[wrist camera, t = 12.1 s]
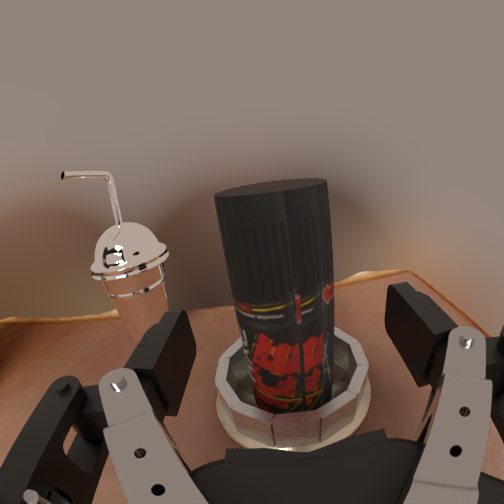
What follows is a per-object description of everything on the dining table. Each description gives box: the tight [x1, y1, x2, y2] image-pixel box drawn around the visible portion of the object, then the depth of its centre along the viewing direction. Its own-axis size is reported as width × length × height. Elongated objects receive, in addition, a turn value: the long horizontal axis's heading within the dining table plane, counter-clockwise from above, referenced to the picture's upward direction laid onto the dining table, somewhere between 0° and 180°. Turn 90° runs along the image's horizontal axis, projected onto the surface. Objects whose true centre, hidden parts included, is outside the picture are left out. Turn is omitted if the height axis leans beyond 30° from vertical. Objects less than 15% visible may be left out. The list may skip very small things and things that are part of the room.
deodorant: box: [214, 179, 334, 414], centre depth 16 cm, size 6×6×15 cm
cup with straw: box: [61, 171, 169, 345], centre depth 25 cm, size 8×9×20 cm
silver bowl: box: [214, 327, 371, 452], centre depth 19 cm, size 12×12×4 cm
